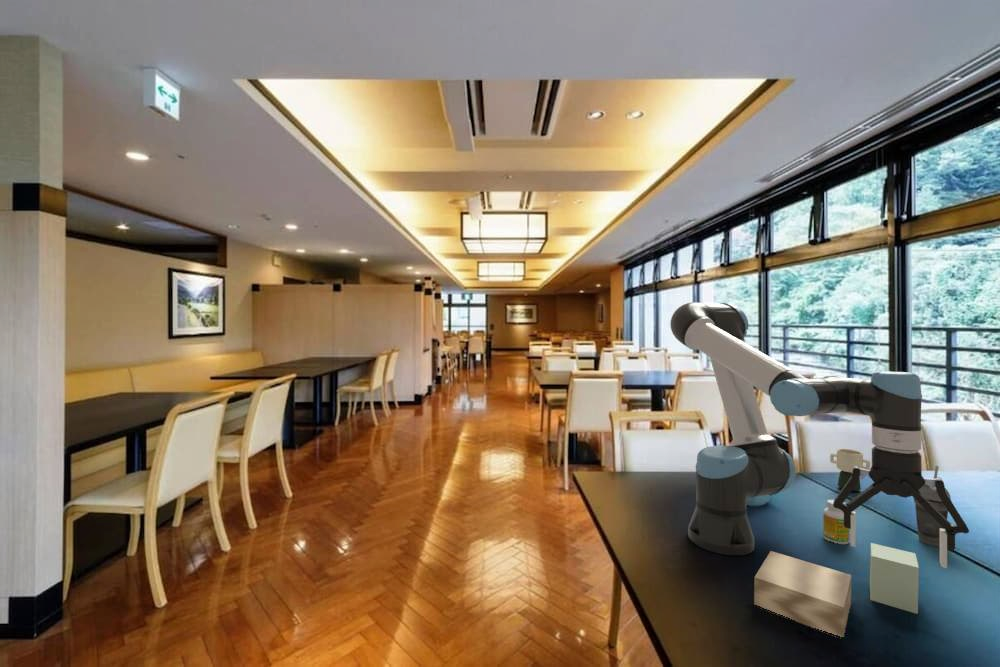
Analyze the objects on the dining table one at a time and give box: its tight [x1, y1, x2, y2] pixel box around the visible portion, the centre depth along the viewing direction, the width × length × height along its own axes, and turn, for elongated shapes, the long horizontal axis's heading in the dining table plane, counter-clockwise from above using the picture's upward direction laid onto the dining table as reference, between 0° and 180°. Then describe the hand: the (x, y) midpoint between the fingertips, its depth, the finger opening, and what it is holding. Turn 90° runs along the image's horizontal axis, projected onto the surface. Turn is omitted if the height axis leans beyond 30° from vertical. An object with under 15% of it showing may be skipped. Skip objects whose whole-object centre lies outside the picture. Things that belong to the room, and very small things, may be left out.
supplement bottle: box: [822, 499, 850, 545], centre depth 116 cm, size 5×5×10 cm
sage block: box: [869, 542, 920, 615], centre depth 91 cm, size 7×7×9 cm
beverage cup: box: [912, 465, 953, 548], centre depth 115 cm, size 7×7×20 cm
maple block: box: [753, 550, 852, 638], centre depth 89 cm, size 14×14×6 cm
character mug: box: [829, 448, 871, 492], centre depth 152 cm, size 11×7×13 cm, turn 39°
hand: (896, 554), depth 90 cm, fingers open, 13 cm apart
